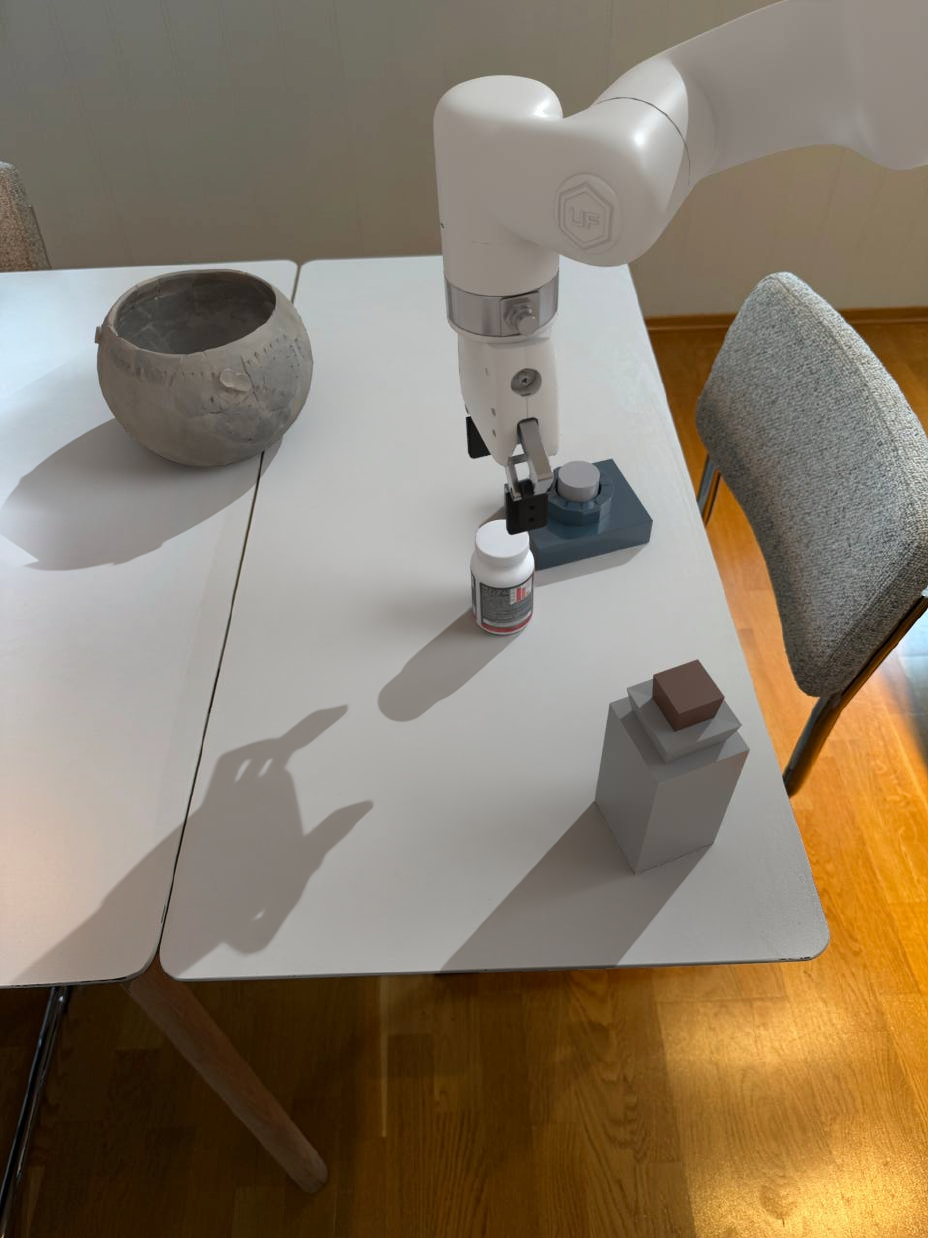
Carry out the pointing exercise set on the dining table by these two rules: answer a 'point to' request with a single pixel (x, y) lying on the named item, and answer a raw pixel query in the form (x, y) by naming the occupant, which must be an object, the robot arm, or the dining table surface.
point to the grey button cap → (578, 481)
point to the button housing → (590, 521)
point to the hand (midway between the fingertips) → (506, 489)
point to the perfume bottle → (669, 765)
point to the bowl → (204, 365)
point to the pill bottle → (502, 579)
